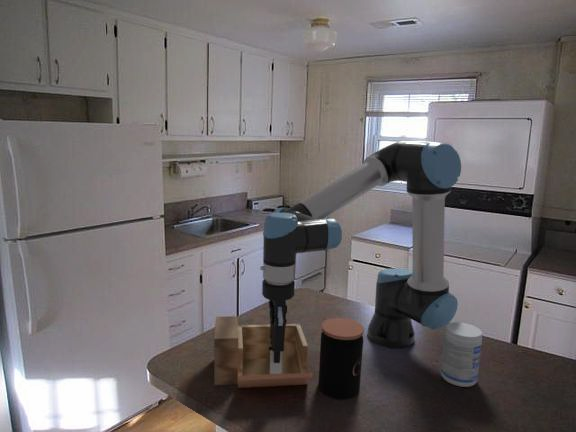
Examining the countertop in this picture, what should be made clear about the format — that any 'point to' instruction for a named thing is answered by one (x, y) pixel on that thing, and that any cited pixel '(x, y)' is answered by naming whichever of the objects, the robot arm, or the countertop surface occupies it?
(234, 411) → the countertop surface
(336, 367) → the coffee jar
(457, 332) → the supplement tub
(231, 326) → the box
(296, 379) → the panel
